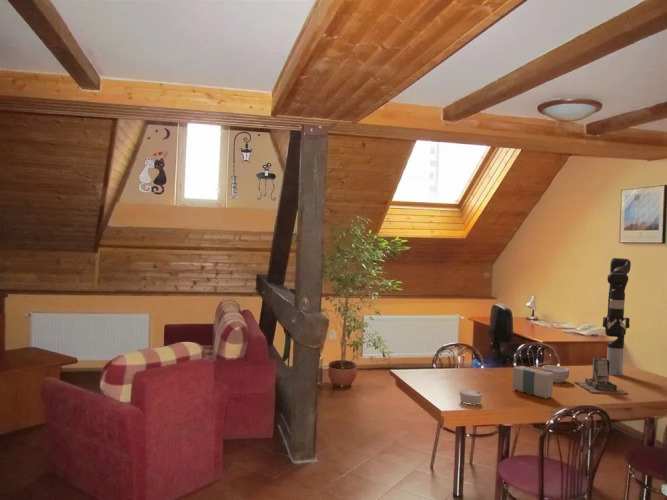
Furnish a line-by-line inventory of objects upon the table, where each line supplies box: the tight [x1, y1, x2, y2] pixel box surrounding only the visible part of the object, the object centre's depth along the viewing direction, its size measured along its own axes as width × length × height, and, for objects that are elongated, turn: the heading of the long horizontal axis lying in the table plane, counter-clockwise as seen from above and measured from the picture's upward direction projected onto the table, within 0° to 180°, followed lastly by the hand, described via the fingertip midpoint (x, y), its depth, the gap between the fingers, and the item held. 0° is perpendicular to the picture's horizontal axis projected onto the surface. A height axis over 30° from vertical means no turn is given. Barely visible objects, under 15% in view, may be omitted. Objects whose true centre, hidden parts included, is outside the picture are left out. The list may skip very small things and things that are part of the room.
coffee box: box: [592, 357, 610, 385], centre depth 308 cm, size 9×6×16 cm
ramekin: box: [459, 389, 483, 404], centre depth 274 cm, size 11×11×5 cm
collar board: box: [574, 377, 629, 396], centre depth 308 cm, size 22×20×4 cm
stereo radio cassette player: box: [512, 359, 554, 399], centre depth 293 cm, size 21×8×20 cm, turn 36°
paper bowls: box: [541, 365, 570, 384], centre depth 323 cm, size 15×15×8 cm
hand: (615, 335), depth 311 cm, fingers open, 8 cm apart
